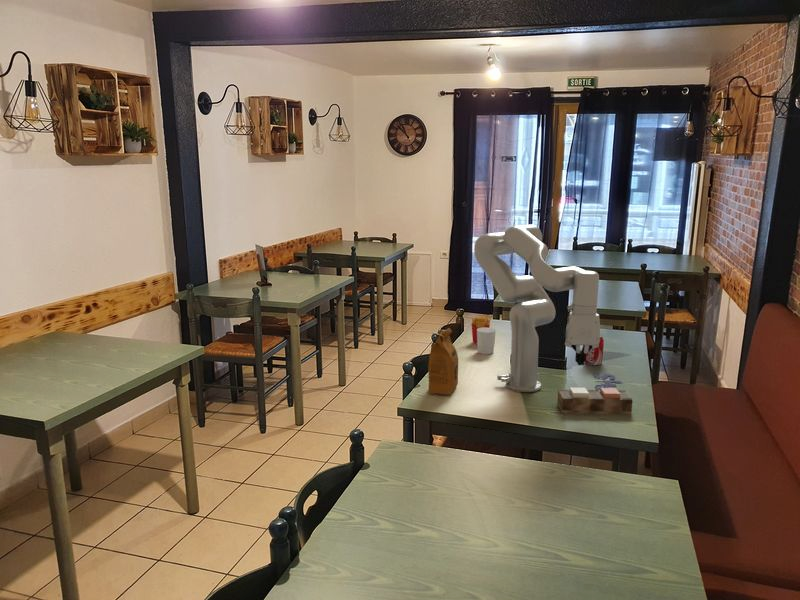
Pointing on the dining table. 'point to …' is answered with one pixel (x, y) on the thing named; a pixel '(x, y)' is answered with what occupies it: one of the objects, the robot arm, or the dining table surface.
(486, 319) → the french fries
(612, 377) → the signage
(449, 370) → the coffee package
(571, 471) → the dining table surface
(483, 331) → the white cup
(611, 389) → the red key
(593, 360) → the soda can
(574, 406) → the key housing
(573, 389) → the cream key
